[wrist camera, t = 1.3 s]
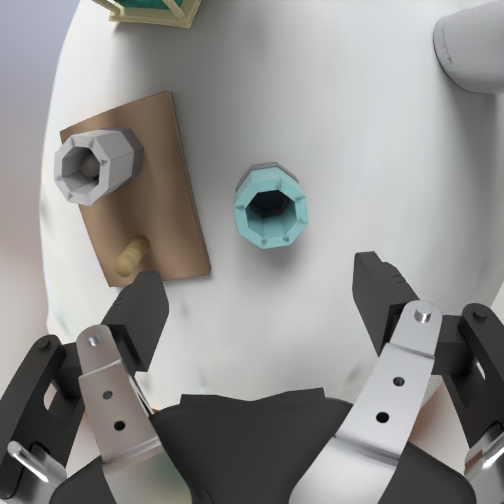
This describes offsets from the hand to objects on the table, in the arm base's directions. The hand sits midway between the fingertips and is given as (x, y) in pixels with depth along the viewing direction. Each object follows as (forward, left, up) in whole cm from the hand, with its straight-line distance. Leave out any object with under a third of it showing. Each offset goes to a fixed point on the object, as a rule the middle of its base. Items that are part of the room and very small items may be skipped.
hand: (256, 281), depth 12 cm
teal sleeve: (-1, +1, -17) cm, 17 cm away
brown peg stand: (+12, -1, -17) cm, 21 cm away
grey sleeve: (+12, -6, -15) cm, 20 cm away
